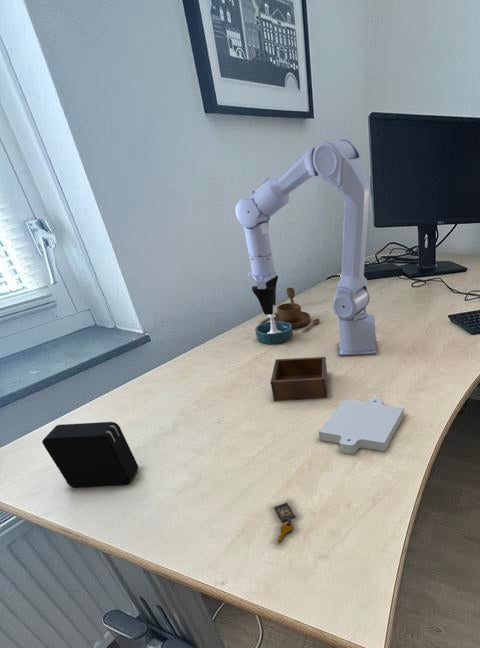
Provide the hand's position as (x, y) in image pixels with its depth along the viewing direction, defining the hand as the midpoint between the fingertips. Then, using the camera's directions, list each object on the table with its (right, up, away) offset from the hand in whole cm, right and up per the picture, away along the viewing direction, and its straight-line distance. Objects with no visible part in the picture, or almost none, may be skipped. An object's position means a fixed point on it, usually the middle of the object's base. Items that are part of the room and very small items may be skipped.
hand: (270, 309), depth 118 cm
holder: (+12, -25, -18) cm, 33 cm away
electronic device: (-17, -46, -43) cm, 66 cm away
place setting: (+4, +4, +17) cm, 18 cm away
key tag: (+15, -53, -52) cm, 76 cm away
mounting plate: (+27, -36, -32) cm, 55 cm away
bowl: (0, -6, +5) cm, 8 cm away
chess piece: (0, -6, +5) cm, 8 cm away
